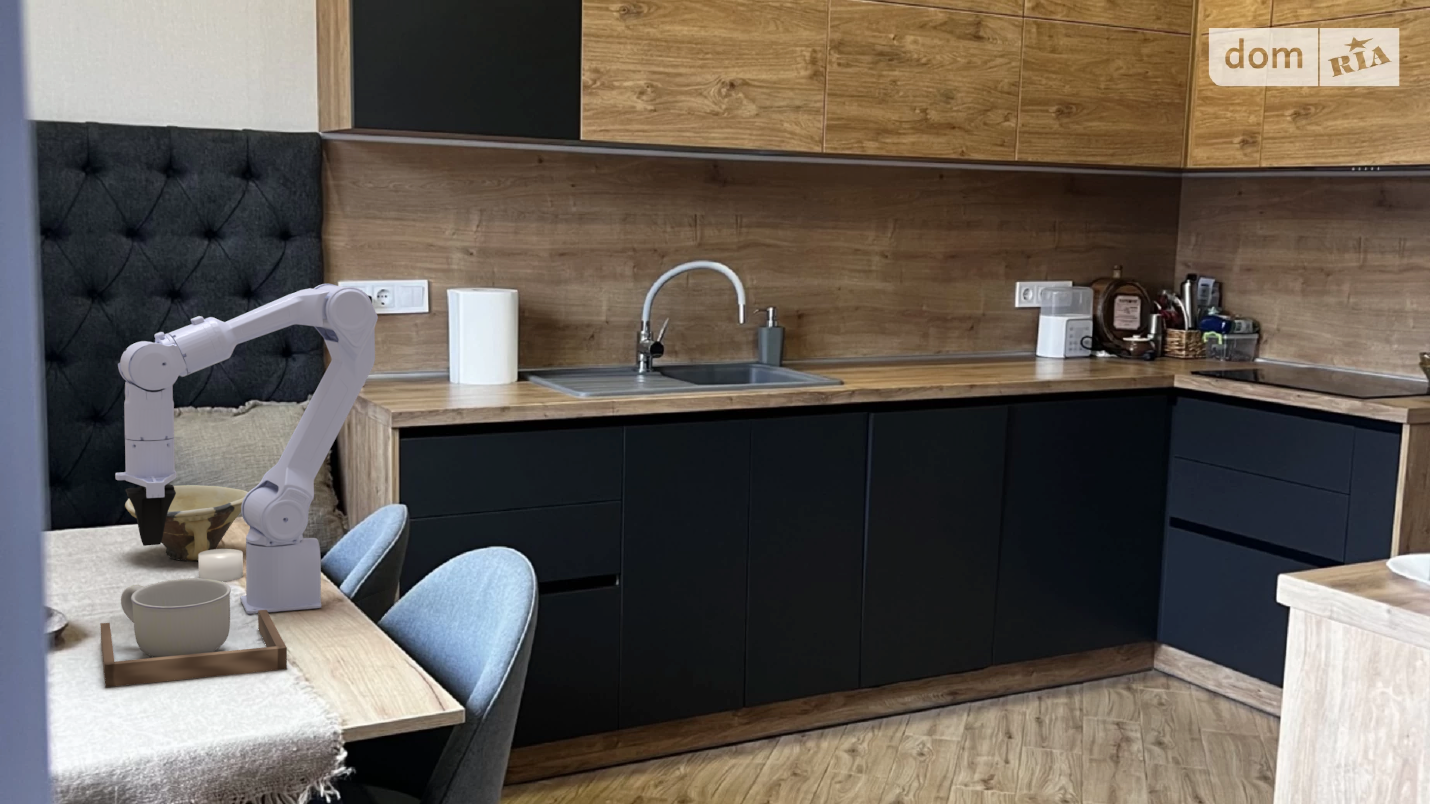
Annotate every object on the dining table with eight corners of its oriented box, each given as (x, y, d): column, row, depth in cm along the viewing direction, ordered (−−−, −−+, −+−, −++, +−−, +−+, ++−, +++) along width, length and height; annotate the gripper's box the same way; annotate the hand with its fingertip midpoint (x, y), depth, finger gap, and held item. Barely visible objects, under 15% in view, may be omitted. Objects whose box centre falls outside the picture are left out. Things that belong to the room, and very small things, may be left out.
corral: (266, 629, 171) (266, 609, 170) (286, 669, 155) (286, 647, 155) (100, 643, 162) (100, 623, 162) (105, 687, 147) (104, 665, 147)
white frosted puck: (240, 571, 200) (240, 547, 199) (245, 580, 194) (245, 556, 194) (196, 574, 197) (196, 550, 196) (200, 584, 192) (200, 559, 191)
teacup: (250, 653, 161) (250, 587, 160) (172, 676, 152) (171, 607, 151) (174, 632, 168) (173, 569, 167) (95, 653, 159) (93, 586, 158)
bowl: (125, 547, 211) (124, 486, 210) (247, 540, 218) (247, 482, 217) (125, 573, 195) (124, 508, 194) (257, 566, 202) (257, 503, 201)
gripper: (111, 430, 175) (113, 534, 176) (118, 447, 162) (120, 559, 163) (170, 428, 178) (171, 530, 179) (182, 445, 165) (183, 554, 167)
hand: (151, 544), depth 172 cm, fingers closed
